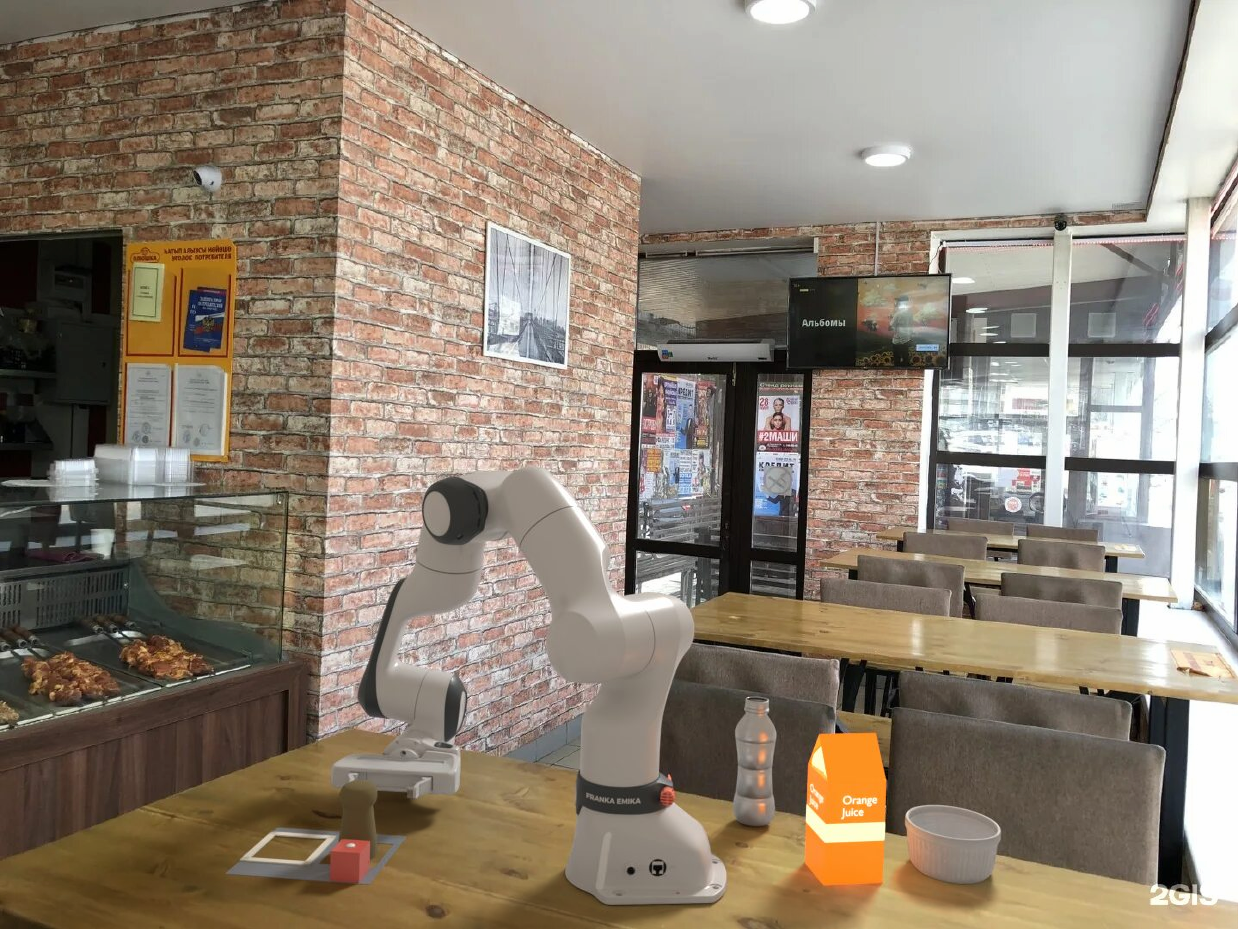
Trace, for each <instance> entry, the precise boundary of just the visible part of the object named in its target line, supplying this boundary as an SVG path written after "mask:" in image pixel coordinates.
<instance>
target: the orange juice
mask: <svg viewBox="0 0 1238 929" xmlns="http://www.w3.org/2000/svg"><path fill="white" fill-rule="evenodd" d="M818 734H819V735H818V737H817V739H816V741H815V742H816V743H815V746H814V748H813V750H812V753H811V756H810V758H809V761H808V764H807V785H806V786H807V788H806V789H807V790H806V791H807V792H806V807H805V808H806V809H805V812H806V813H805V843H804V844H805V847H804V848H805V849H804V851H805V852H804V863H805V865H806V866H807V867H808V868H809V870H810V871H811V872H812V873H813V874H814V875H815V877H816V878H817V879H818V880H819V882H820V883H821V884H822V885H823V886H839V885H841V886H842V885H843V886H845V885H860V884H861V885H862V884H883V880H884V879H883V878H884V857H885V856H884V854H885V852H884V850H885V837H886V801H887V800H886V799H887V798H886V796H887V779H886V775H885V774H886V773H885V770H884V766H883V761H882V760H883V759H882V756H881V751H880V745H879V742H878V741H879V740H878V737H877V732H861V733H860V732H857V733H856V732H855V733H853V732H851V733H848V732H847V733H818Z"/></svg>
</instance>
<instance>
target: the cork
mask: <svg viewBox="0 0 1238 929" xmlns="http://www.w3.org/2000/svg"><path fill="white" fill-rule="evenodd" d="M377 799H378V791H377V787H376V786H375V784H374V783H372V782H370V781H367V780H355V781H350V782H348V783H346V784H345V785H344V786H343V787H342V788H340V792H339V802H340V804H341V806H342V807H343V808H342V814H341V822H340V829H339V832H340V834H339V840H338V843H339V842H340V841H341V839H349V840H363V841H370V860H373V859H375V858H376V857H377V856H378V855H379V847H378V843H377V836H376V834H377V830H376V829H377V828H376V820H375V810H374V805H375V804H376V802H377Z"/></svg>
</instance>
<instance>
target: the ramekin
mask: <svg viewBox="0 0 1238 929" xmlns="http://www.w3.org/2000/svg"><path fill="white" fill-rule="evenodd" d="M904 817H905V818H904V825H905V827H906V839H907V840H906V841H907V851H908V852H907V853H908V857H909V860H910V862H911V864H912V865H913V866H914V868H915V869H916V870H918V871H919V872H920V873H922V874H924V875H925V876H928V877H929V878H932V879H935V880H937V881H938V880H939V881H941V882H944V883H945V882H946V883H951V884H957V885H958V884H959V885H967V884H968V885H971V884H978V883H981V882H983V881H985V880H987V878H989V877H990V876H991V875H992V873H993V870H994V868H995V863H996V858H997V853H998V847H999V843H1000V842H1001V838H1002V829H1001V827H1000V826H999V824H998V823H997V822H996V821H994V820H993V819H992V818H990V817H988V816H986V815H984V814H982V813H979V812H976V811H974V810H970V809H967V808H962V807H957V806H952V805H951V806H950V805H943V804H942V805H941V804H940V805H939V804H926V805H925V804H924V805H920V806H914V807H911V808H910V809H909V810H907V812H906V813H905V816H904Z"/></svg>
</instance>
